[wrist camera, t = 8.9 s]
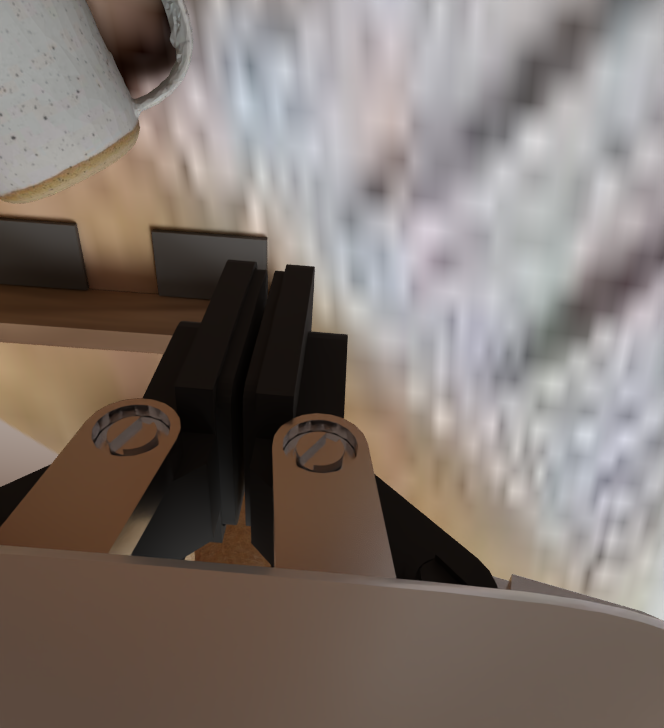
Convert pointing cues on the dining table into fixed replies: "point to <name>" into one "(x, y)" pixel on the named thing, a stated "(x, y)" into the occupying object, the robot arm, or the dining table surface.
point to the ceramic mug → (68, 95)
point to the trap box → (100, 307)
